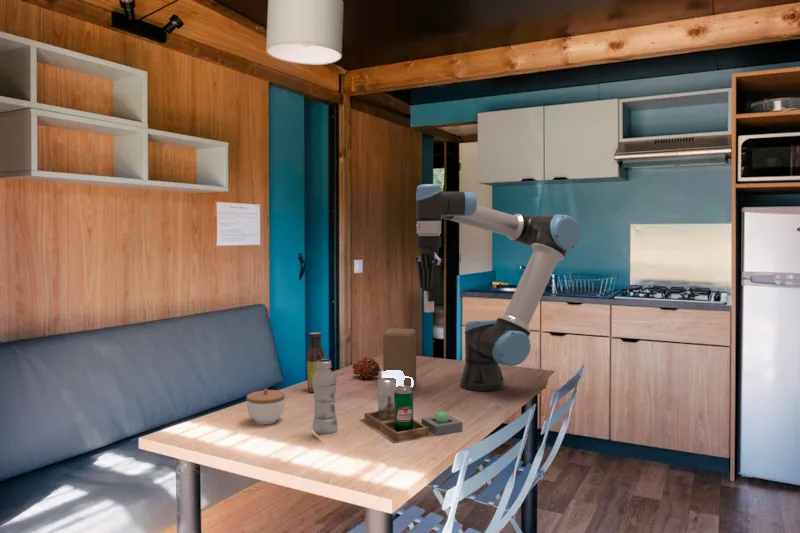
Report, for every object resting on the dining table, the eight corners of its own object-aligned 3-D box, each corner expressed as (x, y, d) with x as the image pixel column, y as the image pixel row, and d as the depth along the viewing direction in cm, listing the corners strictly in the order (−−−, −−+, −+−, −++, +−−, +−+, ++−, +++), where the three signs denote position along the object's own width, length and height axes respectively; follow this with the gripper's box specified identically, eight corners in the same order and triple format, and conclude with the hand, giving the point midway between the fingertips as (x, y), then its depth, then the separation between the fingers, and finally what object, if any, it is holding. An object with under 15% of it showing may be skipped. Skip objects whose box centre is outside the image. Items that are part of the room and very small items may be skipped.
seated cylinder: (391, 418, 174) (390, 376, 174) (399, 423, 170) (399, 380, 169) (375, 421, 172) (374, 378, 171) (383, 426, 168) (382, 382, 167)
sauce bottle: (327, 392, 208) (327, 334, 207) (309, 394, 206) (308, 335, 204) (323, 387, 214) (322, 331, 213) (305, 389, 212) (304, 332, 211)
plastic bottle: (327, 440, 160) (326, 364, 159) (307, 435, 164) (306, 361, 163) (342, 433, 166) (341, 359, 165) (323, 429, 169) (322, 357, 168)
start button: (444, 422, 168) (444, 410, 167) (451, 426, 164) (451, 414, 164) (432, 424, 166) (432, 412, 166) (439, 428, 162) (439, 416, 162)
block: (411, 391, 207) (411, 333, 206) (382, 390, 209) (382, 332, 208) (416, 384, 217) (416, 328, 216) (389, 383, 219) (388, 327, 218)
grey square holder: (446, 426, 171) (446, 414, 170) (462, 435, 163) (462, 422, 163) (421, 431, 167) (421, 418, 167) (436, 440, 160) (436, 426, 160)
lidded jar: (291, 417, 180) (291, 386, 179) (272, 428, 170) (272, 395, 169) (260, 414, 184) (259, 383, 183) (239, 425, 173) (238, 392, 173)
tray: (396, 417, 179) (396, 406, 179) (434, 440, 160) (434, 428, 159) (358, 423, 174) (358, 412, 173) (393, 448, 154) (393, 435, 154)
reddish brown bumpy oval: (379, 385, 223) (354, 385, 230) (389, 368, 228) (364, 368, 235) (368, 369, 219) (343, 369, 226) (378, 351, 224) (353, 353, 231)
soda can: (396, 436, 159) (396, 390, 159) (392, 430, 164) (392, 386, 163) (415, 434, 160) (415, 389, 160) (411, 428, 165) (410, 384, 165)
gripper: (407, 235, 192) (408, 310, 193) (428, 235, 180) (429, 315, 182) (428, 235, 195) (429, 308, 197) (450, 235, 184) (450, 313, 185)
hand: (429, 311), depth 189 cm, fingers closed
